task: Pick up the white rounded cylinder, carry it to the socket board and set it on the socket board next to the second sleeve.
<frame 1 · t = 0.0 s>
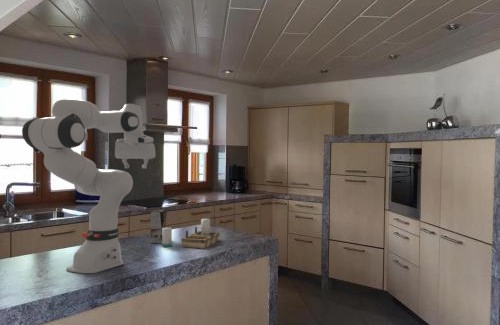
hand: (135, 168, 187), 39 cm above the worktop, tool pointing down, fingers open, 8 cm apart
socket board: (201, 243, 204), on the worktop
white rounded cylinder: (166, 246, 196), on the worktop
second sleeve: (205, 236, 209), point 2 cm above the worktop, touching socket board
coffee box: (158, 241, 208), on the worktop
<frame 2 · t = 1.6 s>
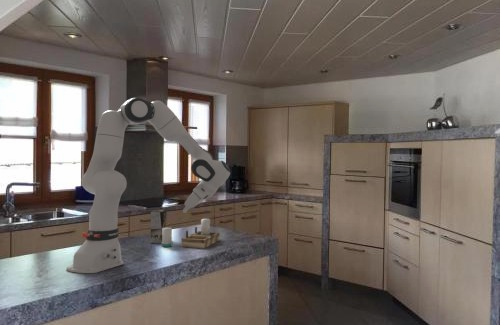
hand: (187, 209, 194), 18 cm above the worktop, tool tilted 45°, fingers open, 8 cm apart
nothing on the worktop moved.
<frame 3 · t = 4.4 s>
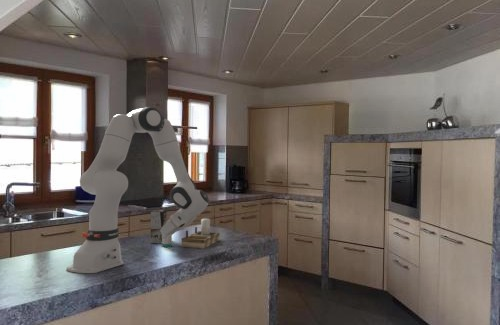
hand: (165, 236, 196), 5 cm above the worktop, tool tilted 45°, fingers closed on white rounded cylinder, 5 cm apart
white rounded cylinder: (166, 246, 196), on the worktop, touching gripper
everything else where it was.
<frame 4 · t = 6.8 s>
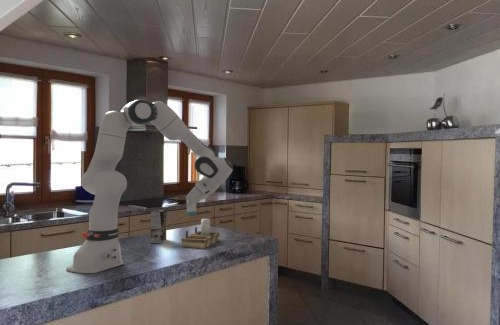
hand: (190, 204, 198), 20 cm above the worktop, tool tilted 45°, fingers closed on white rounded cylinder, 5 cm apart
white rounded cylinder: (191, 214, 198), point 16 cm above the worktop, touching gripper
everything else where it was.
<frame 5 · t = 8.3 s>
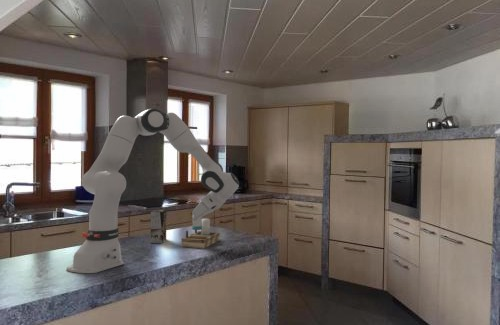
hand: (196, 219, 199), 13 cm above the worktop, tool tilted 45°, fingers closed on white rounded cylinder, 5 cm apart
white rounded cylinder: (197, 228, 199), point 8 cm above the worktop, touching gripper
everything else where it was.
when the fingers open (9 cm above the worktop, at t = 9.5 s): white rounded cylinder drops 1 cm, resting on socket board.
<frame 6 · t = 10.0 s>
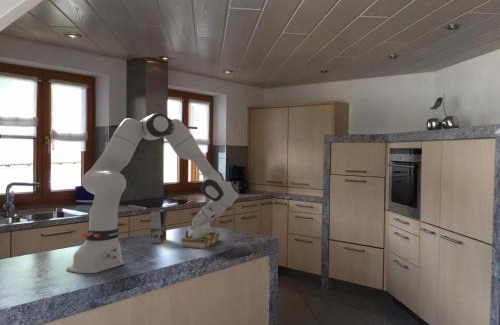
hand: (195, 227, 199), 9 cm above the worktop, tool tilted 45°, fingers open, 8 cm apart
white rounded cylinder: (196, 240, 199), point 3 cm above the worktop, touching socket board
everything else where it was.
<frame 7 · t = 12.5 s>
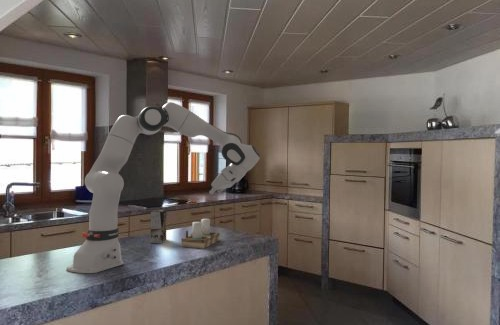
hand: (214, 192, 194), 27 cm above the worktop, tool tilted 45°, fingers open, 8 cm apart
nothing on the worktop moved.
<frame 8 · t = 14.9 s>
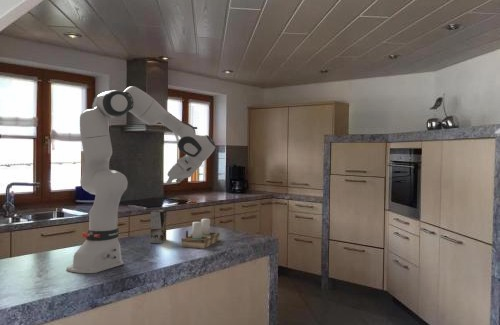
hand: (172, 182, 198), 31 cm above the worktop, tool tilted 45°, fingers open, 8 cm apart
nothing on the worktop moved.
at the end: white rounded cylinder inside the target area on the socket board (0.0 cm from its centre), point 2.5 cm above the socket board's base; white rounded cylinder tilted 1°; the gripper is holding nothing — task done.
